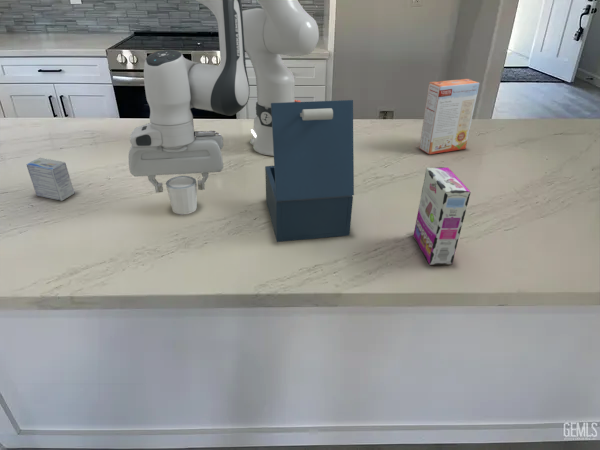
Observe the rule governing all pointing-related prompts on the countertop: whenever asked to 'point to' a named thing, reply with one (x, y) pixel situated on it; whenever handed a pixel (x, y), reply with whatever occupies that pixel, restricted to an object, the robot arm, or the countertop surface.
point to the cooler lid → (313, 149)
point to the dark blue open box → (307, 214)
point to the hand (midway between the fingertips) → (180, 190)
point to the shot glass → (182, 194)
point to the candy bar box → (440, 215)
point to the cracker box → (448, 115)
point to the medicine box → (50, 178)
